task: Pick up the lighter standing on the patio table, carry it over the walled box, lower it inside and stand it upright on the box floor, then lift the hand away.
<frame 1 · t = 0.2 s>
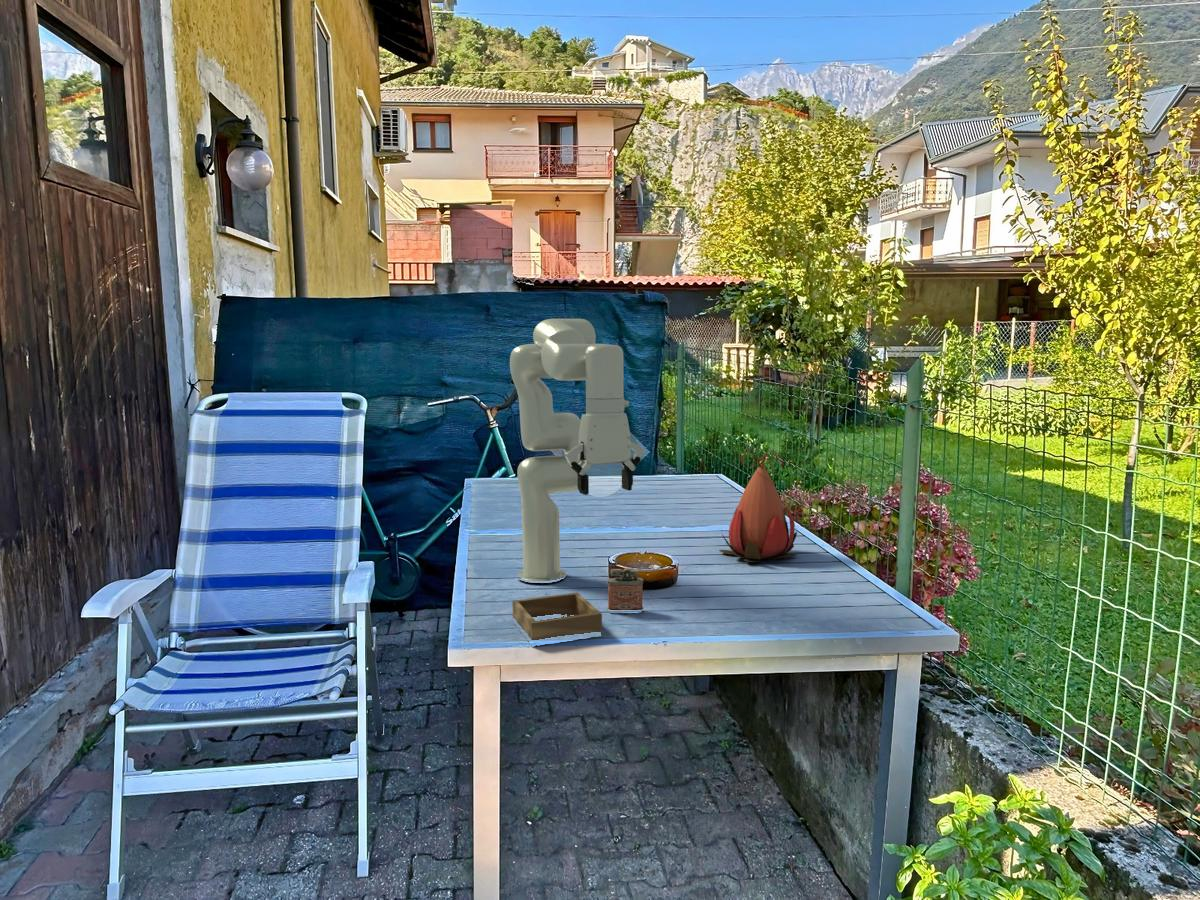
hand: (605, 491, 161), 31 cm above the table, tool pointing down, fingers open, 9 cm apart
walled box: (556, 629, 169), on the table
decorative flower: (757, 557, 225), on the table
lighter: (625, 612, 180), on the table
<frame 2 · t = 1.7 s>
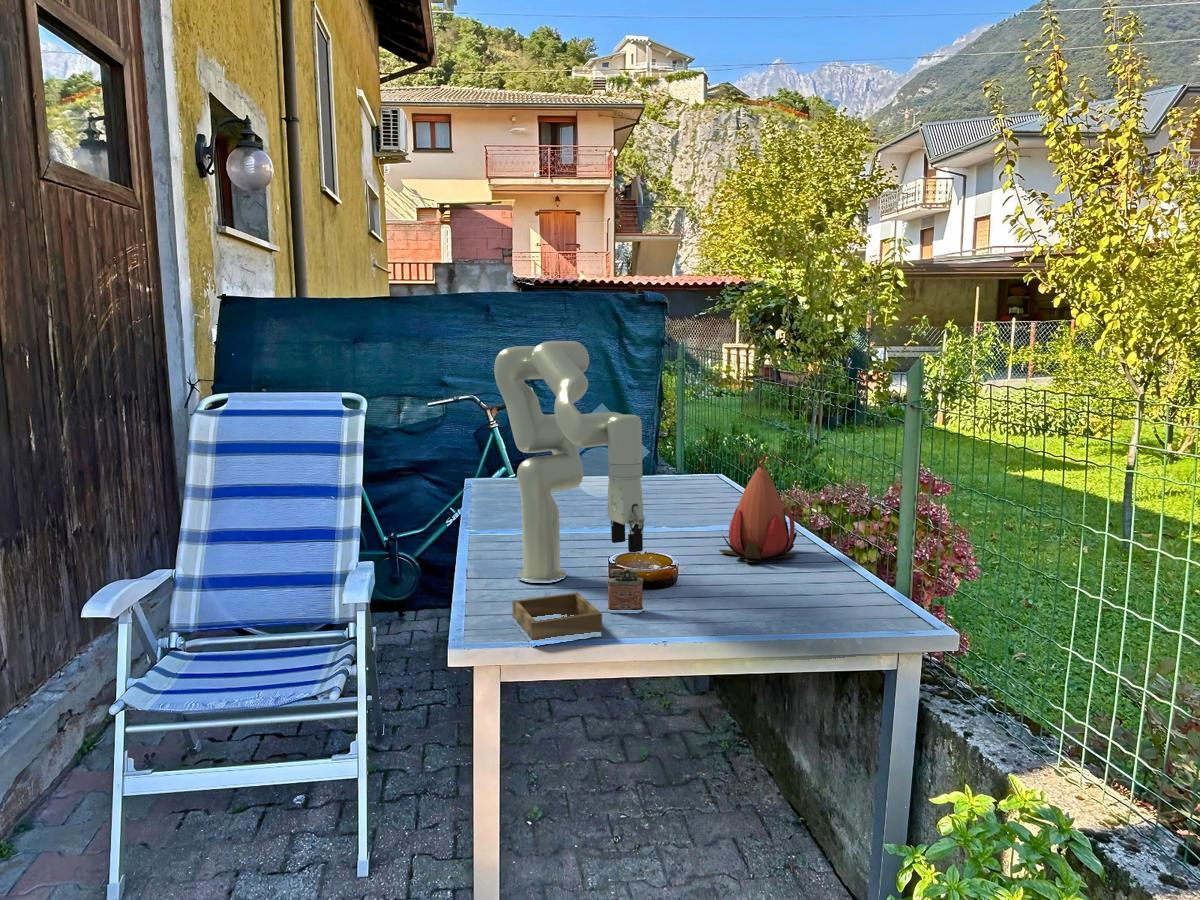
hand: (626, 546, 178), 15 cm above the table, tool pointing down, fingers open, 9 cm apart
nothing on the table moved.
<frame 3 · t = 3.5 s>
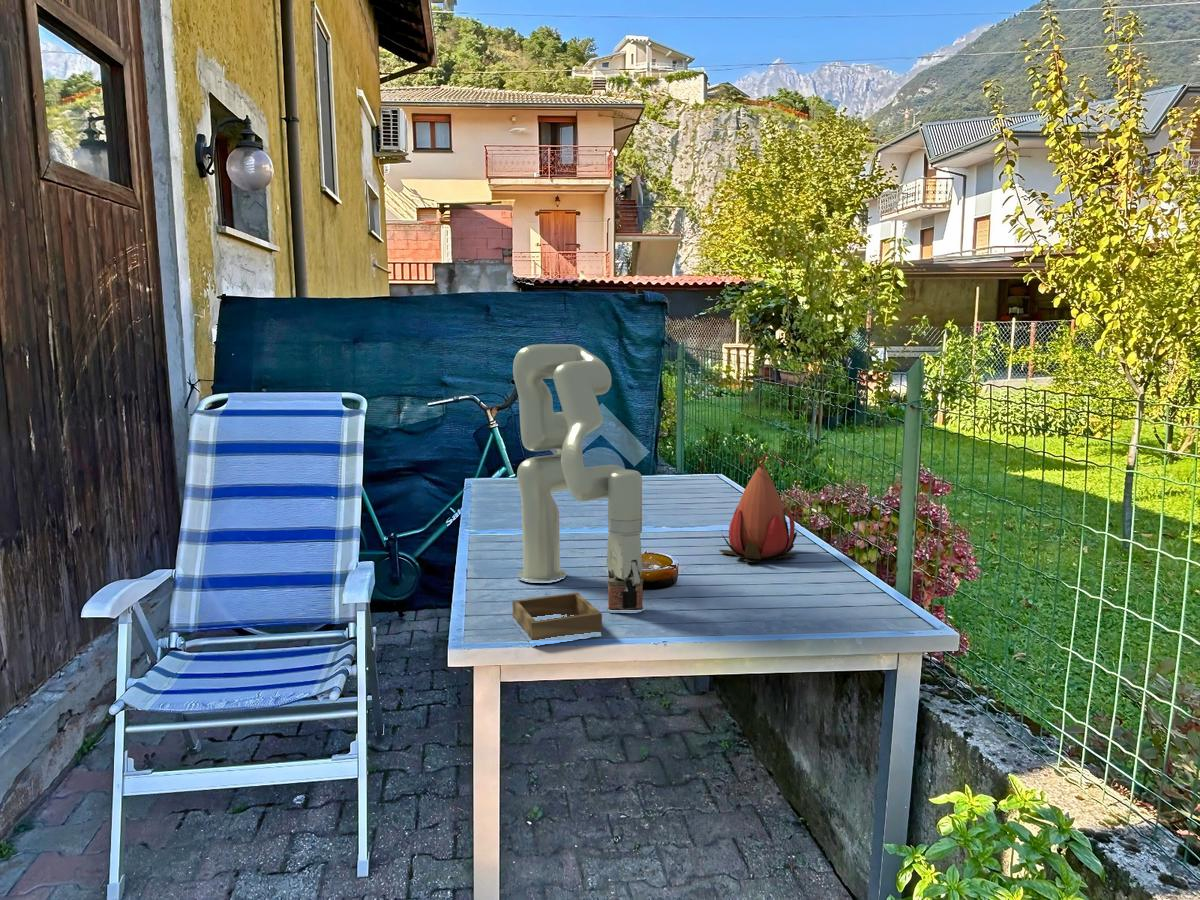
hand: (625, 603, 180), 2 cm above the table, tool pointing down, fingers closed on lighter, 4 cm apart
lighter: (625, 612, 180), on the table, touching gripper
everything else where it was.
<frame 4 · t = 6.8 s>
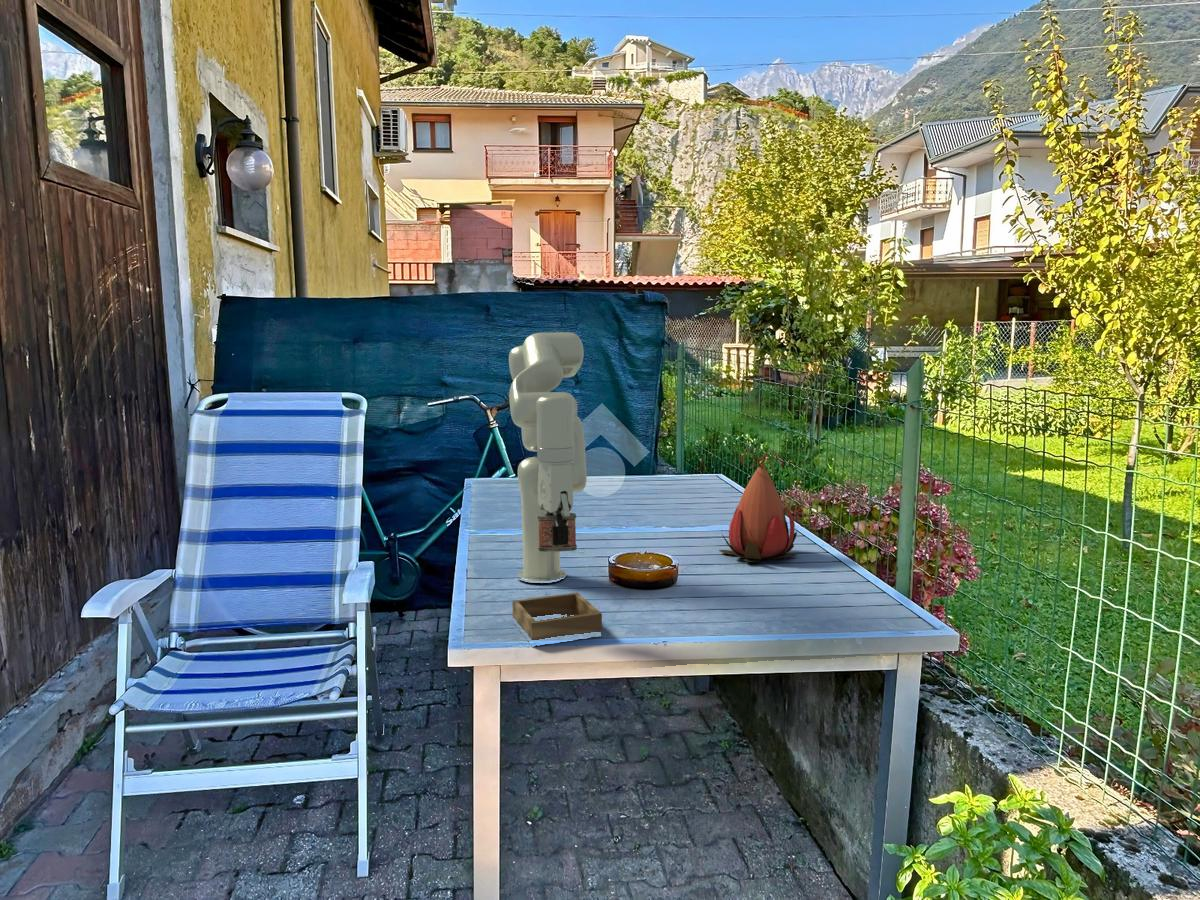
hand: (556, 541, 167), 19 cm above the table, tool pointing down, fingers closed on lighter, 4 cm apart
lighter: (557, 550, 167), point 17 cm above the table, touching gripper
everything else where it was.
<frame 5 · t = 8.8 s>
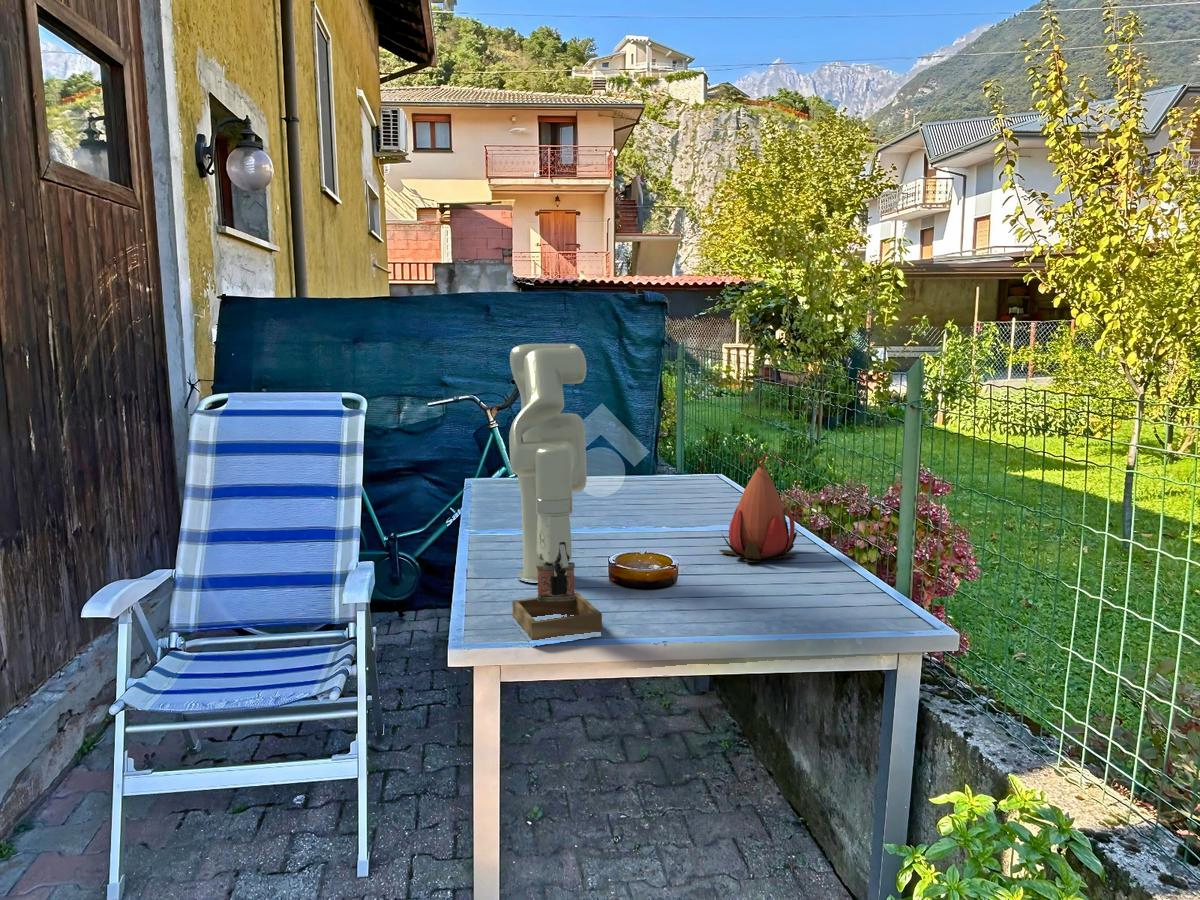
hand: (555, 590, 168), 9 cm above the table, tool pointing down, fingers closed on lighter, 4 cm apart
lighter: (556, 599, 168), point 7 cm above the table, touching gripper
everything else where it was.
when the fingers open (4 cm above the table, at t = 10.1 s): lighter drops 1 cm, resting on walled box.
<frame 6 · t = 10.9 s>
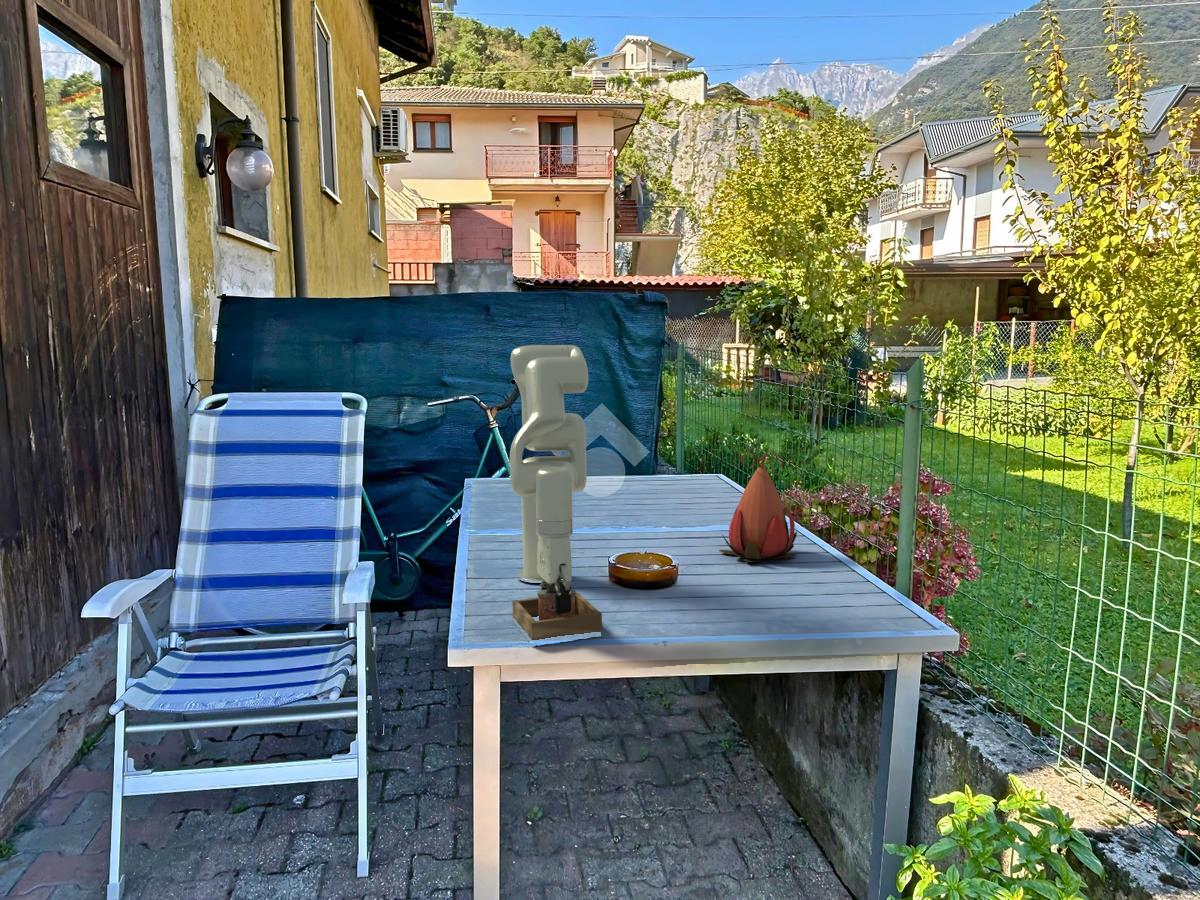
hand: (556, 605, 169), 5 cm above the table, tool pointing down, fingers open, 9 cm apart
lighter: (557, 626, 169), point 1 cm above the table, touching walled box
everything else where it was.
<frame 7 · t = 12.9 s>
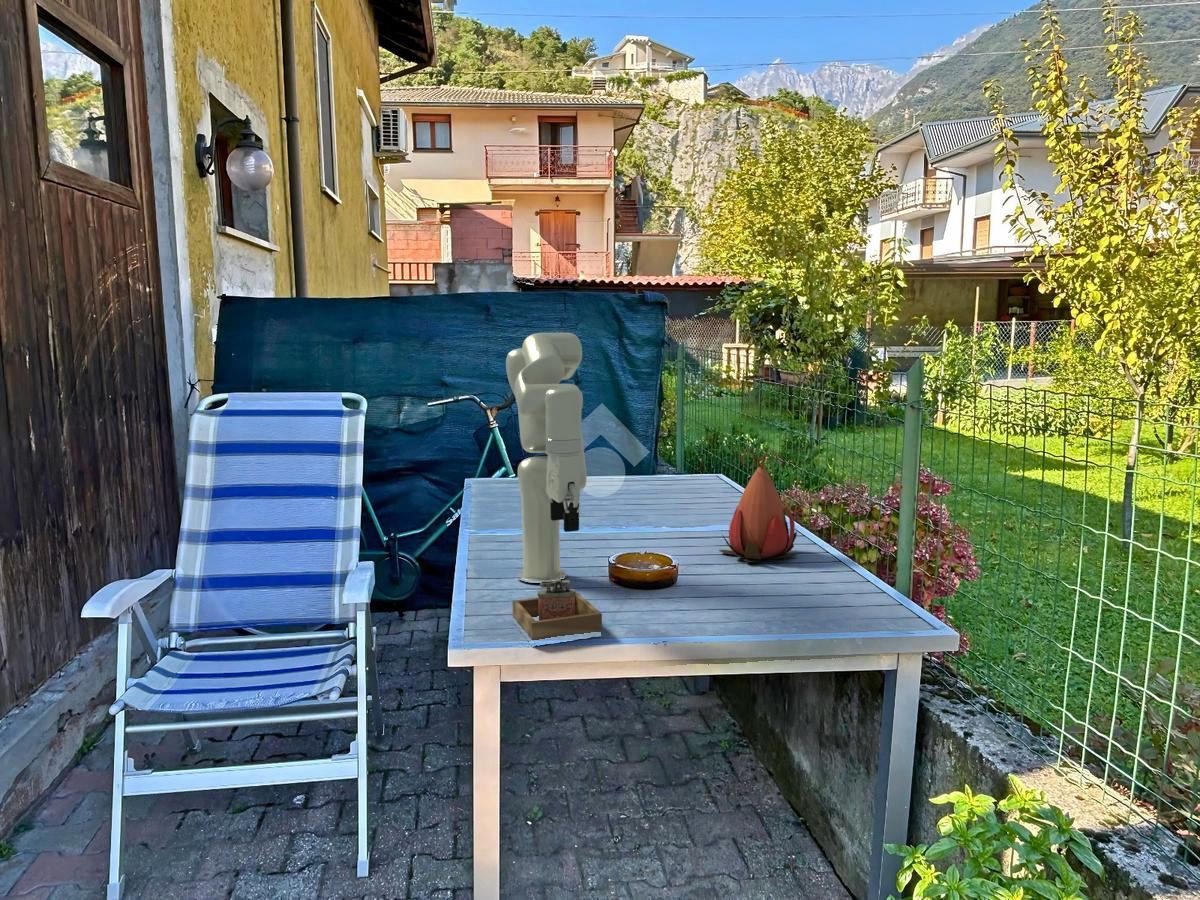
hand: (564, 525, 171), 22 cm above the table, tool pointing down, fingers open, 9 cm apart
nothing on the table moved.
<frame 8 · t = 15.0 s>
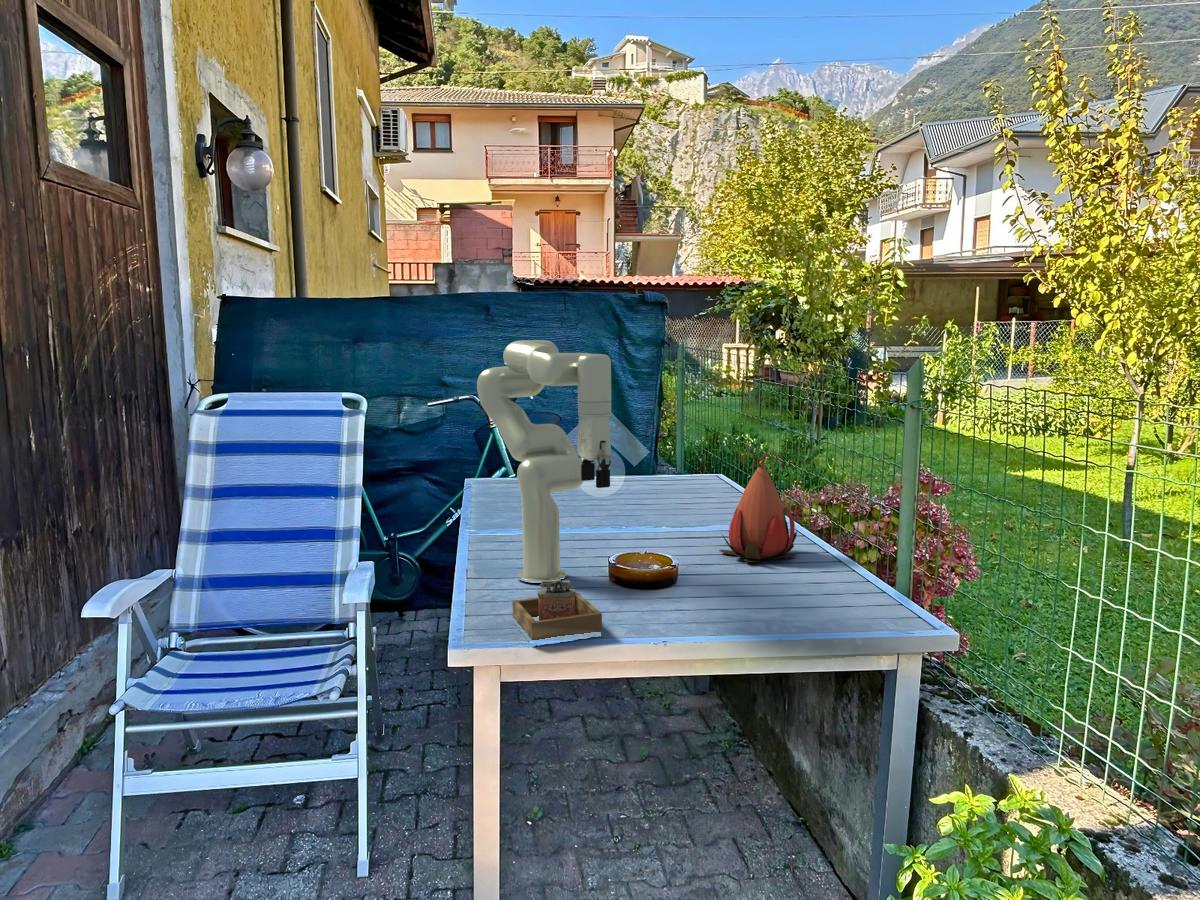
hand: (595, 483, 182), 28 cm above the table, tool pointing down, fingers open, 9 cm apart
nothing on the table moved.
at the end: lighter inside the target area on the walled box (0.2 cm from its centre), point 0.8 cm above the walled box's base; lighter tilted 0°; the gripper is holding nothing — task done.
